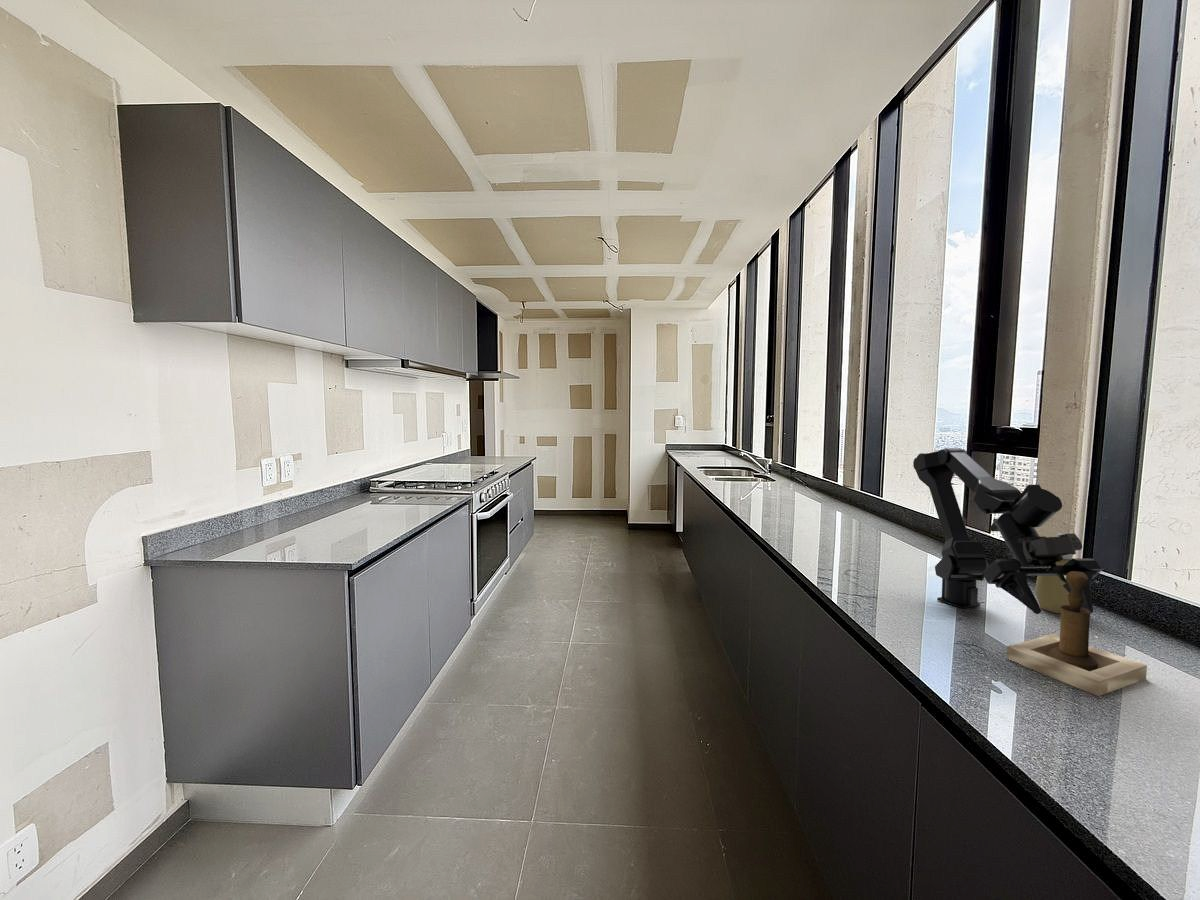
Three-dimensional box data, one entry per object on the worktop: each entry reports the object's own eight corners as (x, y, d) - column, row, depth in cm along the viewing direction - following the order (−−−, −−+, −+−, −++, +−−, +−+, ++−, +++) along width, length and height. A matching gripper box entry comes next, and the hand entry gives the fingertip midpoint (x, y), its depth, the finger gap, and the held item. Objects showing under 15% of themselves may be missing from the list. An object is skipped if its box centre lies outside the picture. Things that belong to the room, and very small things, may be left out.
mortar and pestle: (1042, 665, 96) (1046, 569, 95) (1057, 656, 100) (1061, 564, 98) (1089, 680, 91) (1094, 579, 89) (1103, 671, 94) (1109, 573, 92)
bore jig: (1006, 659, 99) (1006, 646, 99) (1052, 645, 104) (1053, 633, 104) (1098, 696, 86) (1099, 681, 86) (1146, 679, 91) (1146, 665, 91)
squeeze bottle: (1070, 619, 117) (1074, 540, 115) (1027, 607, 124) (1030, 533, 122) (1086, 612, 120) (1090, 535, 119) (1044, 601, 127) (1047, 528, 126)
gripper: (996, 518, 101) (1038, 594, 91) (1096, 517, 100) (1150, 594, 90) (967, 547, 109) (1003, 619, 99) (1060, 546, 109) (1105, 619, 98)
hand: (1064, 613), depth 97 cm, fingers open, 9 cm apart
